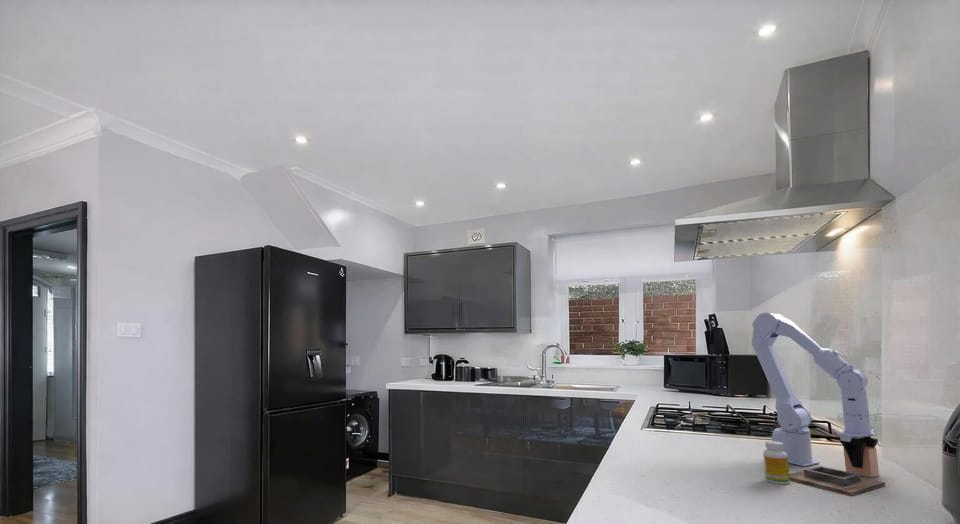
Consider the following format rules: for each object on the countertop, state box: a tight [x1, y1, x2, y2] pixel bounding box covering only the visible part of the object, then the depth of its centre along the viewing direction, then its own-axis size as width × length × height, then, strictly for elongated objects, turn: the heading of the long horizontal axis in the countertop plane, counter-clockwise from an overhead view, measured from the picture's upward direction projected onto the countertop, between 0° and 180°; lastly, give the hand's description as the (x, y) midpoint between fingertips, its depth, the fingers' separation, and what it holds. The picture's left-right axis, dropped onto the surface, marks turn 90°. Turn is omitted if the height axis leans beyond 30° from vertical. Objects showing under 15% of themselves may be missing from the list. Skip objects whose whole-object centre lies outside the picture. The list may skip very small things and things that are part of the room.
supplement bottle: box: [762, 440, 791, 485], centre depth 127 cm, size 5×5×10 cm
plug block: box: [842, 445, 880, 479], centre depth 133 cm, size 6×4×7 cm, turn 29°
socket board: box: [789, 465, 886, 497], centre depth 126 cm, size 16×16×2 cm
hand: (861, 466), depth 133 cm, fingers closed on plug block, 4 cm apart
